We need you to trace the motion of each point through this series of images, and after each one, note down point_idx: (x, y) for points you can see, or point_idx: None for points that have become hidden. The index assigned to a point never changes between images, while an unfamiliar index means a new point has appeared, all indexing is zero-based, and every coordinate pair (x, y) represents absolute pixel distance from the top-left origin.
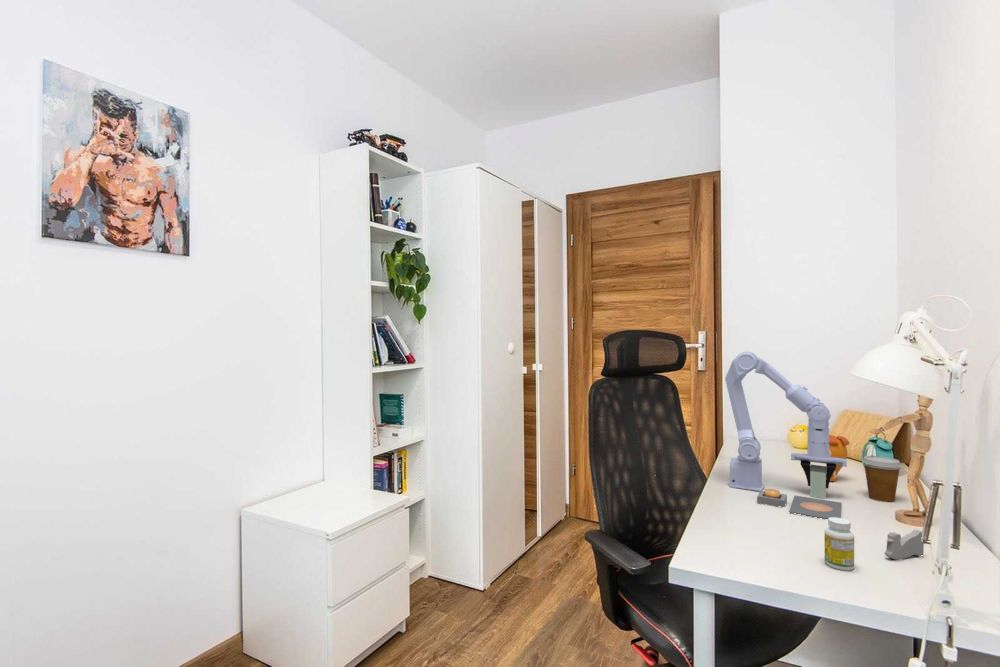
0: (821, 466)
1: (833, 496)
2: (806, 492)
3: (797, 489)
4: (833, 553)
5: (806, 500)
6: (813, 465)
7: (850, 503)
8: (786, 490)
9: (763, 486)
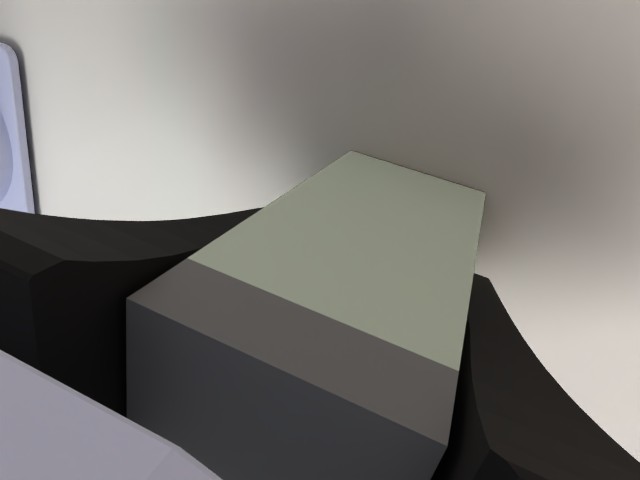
0: (318, 460)
1: (561, 205)
2: (314, 132)
3: (248, 39)
4: None
5: None
6: (170, 385)
7: (636, 408)
8: (165, 123)
9: (16, 126)
